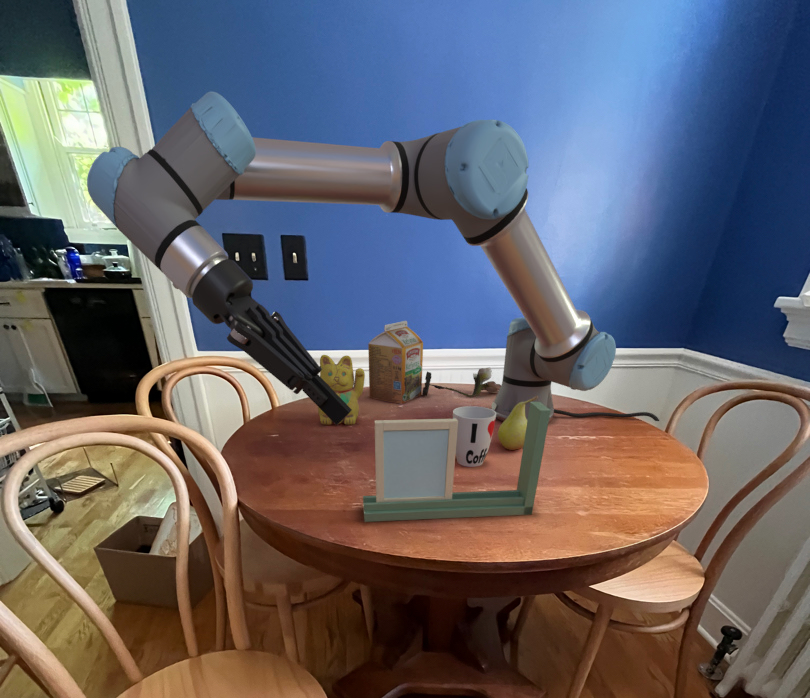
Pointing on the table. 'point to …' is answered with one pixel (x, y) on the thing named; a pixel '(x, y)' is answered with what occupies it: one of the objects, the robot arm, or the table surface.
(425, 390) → the artificial flower
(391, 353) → the milk carton
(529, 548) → the table surface
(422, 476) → the window pane
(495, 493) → the green l-shaped bracket
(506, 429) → the fruit
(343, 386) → the figurine
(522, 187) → the robot arm
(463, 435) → the cup
